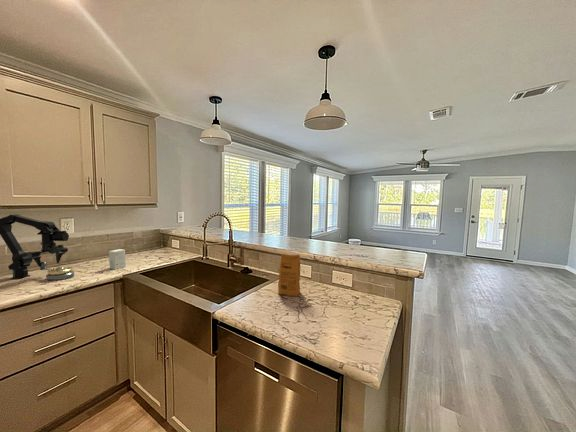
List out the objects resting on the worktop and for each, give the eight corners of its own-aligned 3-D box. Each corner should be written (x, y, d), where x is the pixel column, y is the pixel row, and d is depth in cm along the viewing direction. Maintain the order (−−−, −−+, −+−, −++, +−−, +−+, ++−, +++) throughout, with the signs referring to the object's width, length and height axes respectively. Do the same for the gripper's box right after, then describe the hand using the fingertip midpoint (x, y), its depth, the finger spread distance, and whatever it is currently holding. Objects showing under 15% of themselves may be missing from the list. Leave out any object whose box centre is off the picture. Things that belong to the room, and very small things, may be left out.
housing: (36, 281, 148) (36, 276, 148) (63, 272, 166) (63, 268, 166) (61, 281, 148) (60, 276, 148) (85, 272, 166) (85, 268, 166)
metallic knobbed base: (76, 270, 160) (75, 260, 159) (60, 275, 149) (59, 264, 148) (49, 270, 160) (49, 259, 160) (32, 275, 149) (31, 264, 149)
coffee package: (281, 288, 141) (282, 251, 140) (302, 291, 137) (302, 253, 136) (275, 294, 132) (275, 255, 130) (297, 297, 128) (297, 257, 126)
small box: (120, 265, 184) (119, 248, 183) (126, 266, 182) (125, 249, 181) (109, 268, 177) (108, 250, 176) (115, 269, 174) (114, 251, 174)
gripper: (36, 244, 145) (38, 269, 146) (72, 239, 163) (73, 262, 164) (25, 243, 148) (27, 268, 149) (62, 238, 166) (63, 261, 167)
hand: (49, 264), depth 157 cm, fingers open, 9 cm apart
